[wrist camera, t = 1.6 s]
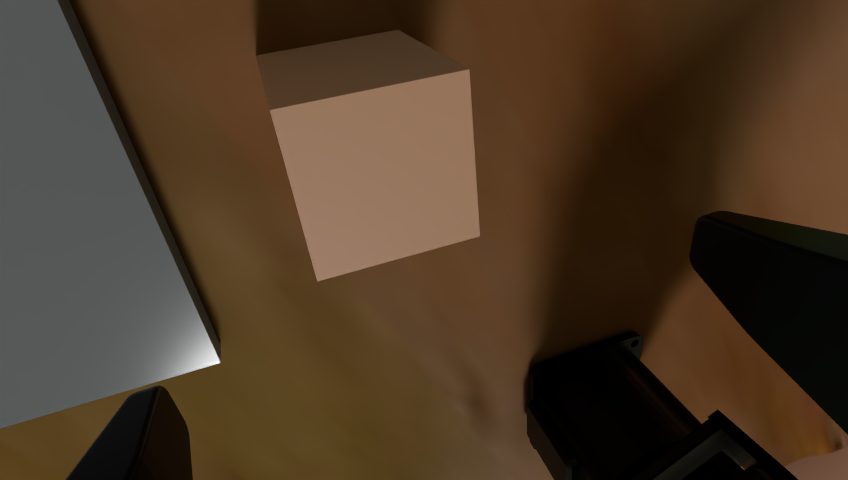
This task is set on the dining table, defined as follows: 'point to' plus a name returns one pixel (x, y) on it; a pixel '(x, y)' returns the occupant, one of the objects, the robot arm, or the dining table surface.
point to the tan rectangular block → (374, 147)
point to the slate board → (80, 233)
